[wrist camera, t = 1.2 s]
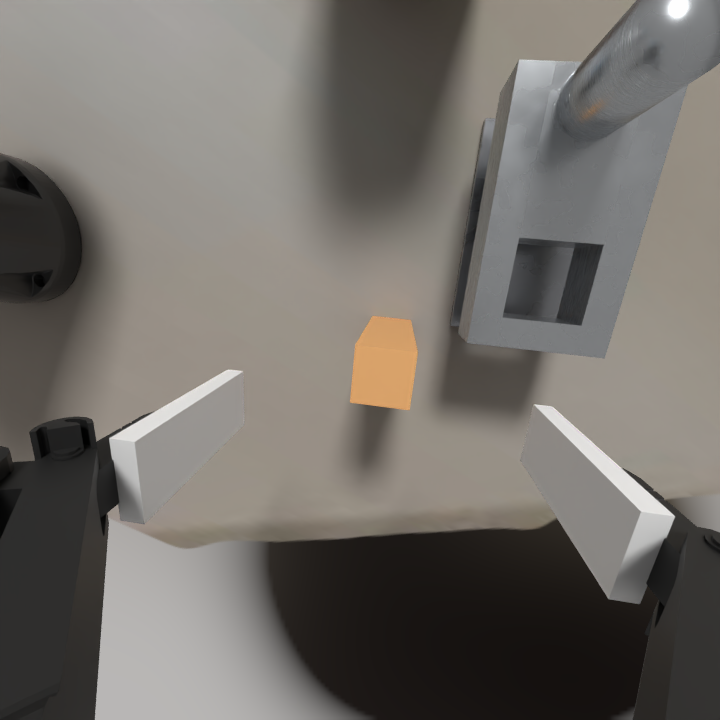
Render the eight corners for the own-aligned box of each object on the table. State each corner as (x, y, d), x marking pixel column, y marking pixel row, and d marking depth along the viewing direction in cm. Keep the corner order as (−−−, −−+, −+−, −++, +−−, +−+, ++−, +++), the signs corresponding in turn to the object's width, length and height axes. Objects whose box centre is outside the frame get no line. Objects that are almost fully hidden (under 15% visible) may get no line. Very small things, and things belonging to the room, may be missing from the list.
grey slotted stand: (449, 324, 34) (491, 369, 19) (484, 119, 29) (579, -51, 14) (550, 335, 33) (682, 391, 18) (604, 126, 28) (850, -48, 13)
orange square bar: (368, 352, 36) (350, 402, 22) (372, 316, 35) (355, 345, 21) (405, 357, 35) (409, 410, 22) (410, 320, 34) (417, 352, 21)
